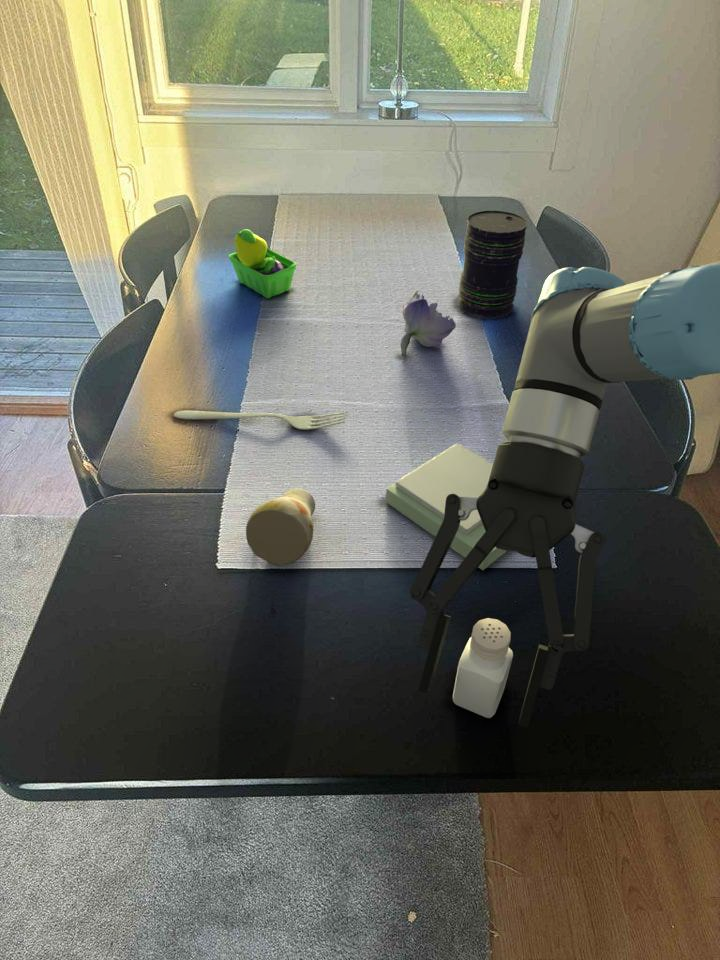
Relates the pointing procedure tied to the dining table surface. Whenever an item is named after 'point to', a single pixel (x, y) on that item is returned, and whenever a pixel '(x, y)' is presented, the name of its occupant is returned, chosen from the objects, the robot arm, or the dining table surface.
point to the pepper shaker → (484, 668)
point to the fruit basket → (261, 265)
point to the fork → (296, 421)
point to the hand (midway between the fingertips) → (473, 705)
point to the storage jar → (491, 263)
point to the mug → (282, 527)
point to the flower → (424, 323)
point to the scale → (430, 487)
